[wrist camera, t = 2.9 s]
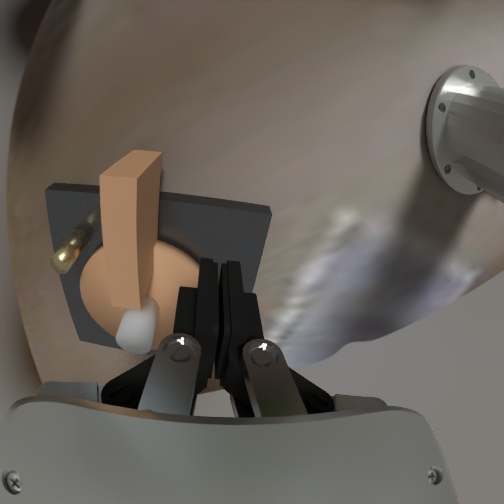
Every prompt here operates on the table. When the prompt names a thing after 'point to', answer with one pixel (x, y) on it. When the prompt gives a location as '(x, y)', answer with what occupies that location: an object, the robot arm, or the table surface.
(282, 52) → the table surface
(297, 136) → the table surface
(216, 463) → the robot arm
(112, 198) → the wooden lever dial
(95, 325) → the base plate
